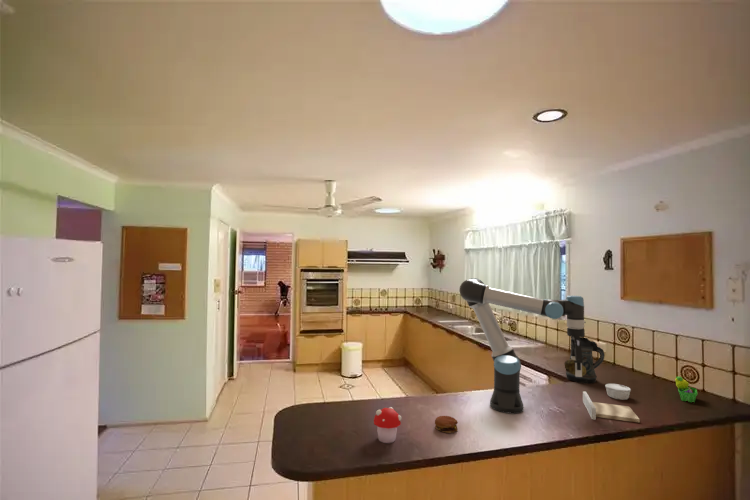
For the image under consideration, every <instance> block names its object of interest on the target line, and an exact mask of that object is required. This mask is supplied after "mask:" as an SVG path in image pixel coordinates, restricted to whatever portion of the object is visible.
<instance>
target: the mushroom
mask: <svg viewBox="0 0 750 500" xmlns="http://www.w3.org/2000/svg"><path fill="white" fill-rule="evenodd" d="M401 421H402V415H400V414H399V413H398V412H397V411H396V410H395V409H394V408H393V407H392V406H389V407H383V408H382V409H377V410H376V411H375V415H374V417H373V425H374V426H376V427H377V428H376V430H377V432H376V433H377V439H378V441H379V442H381V443H384V444H392V443H394V442H395V441H396V439H397V431H398V427H400V426H401V425H402V423H401Z"/></svg>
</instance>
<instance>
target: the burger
mask: <svg viewBox="0 0 750 500" xmlns="http://www.w3.org/2000/svg"><path fill="white" fill-rule="evenodd" d="M458 423H459V421H458V419H456V418H454V417H453V416H449V415H440V416H437V417H436V418H435V420H434V424H435V427H434V428H435V429H436V430H437V431H440V432H442V433H444V434H446V433H448V434H452V433H455V432H458V426H457V424H458Z"/></svg>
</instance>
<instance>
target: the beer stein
mask: <svg viewBox="0 0 750 500" xmlns="http://www.w3.org/2000/svg"><path fill="white" fill-rule="evenodd" d="M579 339H580V341H581V350H582V361H583V362H582V365H583V366H585V368H586V374H585V375H584V376H582V377H576V376H575V375H574V374H571V373H569V372H567V371H566V370H565V376H566V379H567V380H569V381H571V382H575V383H578V384H595V383H596V382H597V379H598V378H597V374H596V371H595V369H596V368H598V367H600V366H601V364H602V363H603V362H604V360H605V351H604V349H603V348H601V346H598V344H597V343H596V342H595V341H593V340H590V339H589V338H588V337H579ZM593 352H597V353H598V354H599V358H598V359H597V361H595V362H594V358H593V357H594V356H593ZM569 359H571V354H570V356H569Z"/></svg>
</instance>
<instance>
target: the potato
mask: <svg viewBox="0 0 750 500" xmlns="http://www.w3.org/2000/svg"><path fill="white" fill-rule="evenodd" d="M574 361H576V360H573V359H570V358H569V359H566V360H565V361H564V369H565V372H566V371H567V372H569V373H571V374H574V375H575V363H574ZM585 374H586V368H585V366H583V365H582V376H584V375H585Z"/></svg>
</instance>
